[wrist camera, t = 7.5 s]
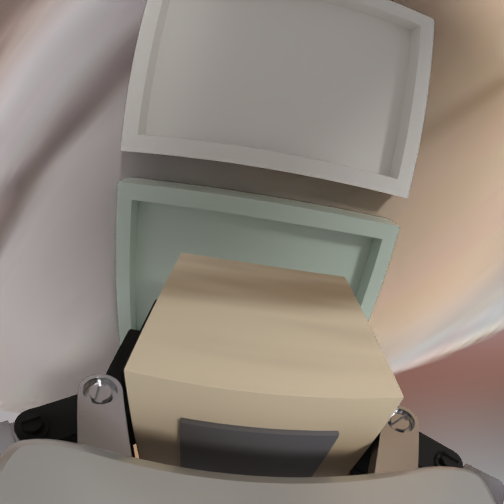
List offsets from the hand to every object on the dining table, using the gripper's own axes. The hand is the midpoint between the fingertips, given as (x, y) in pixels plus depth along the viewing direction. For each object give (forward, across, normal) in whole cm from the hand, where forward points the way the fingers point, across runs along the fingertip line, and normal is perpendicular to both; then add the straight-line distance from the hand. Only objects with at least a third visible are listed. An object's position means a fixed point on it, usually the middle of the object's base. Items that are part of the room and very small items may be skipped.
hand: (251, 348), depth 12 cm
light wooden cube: (+1, 0, 0) cm, 1 cm away
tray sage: (+6, 0, +1) cm, 6 cm away
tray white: (+7, 0, -11) cm, 13 cm away
